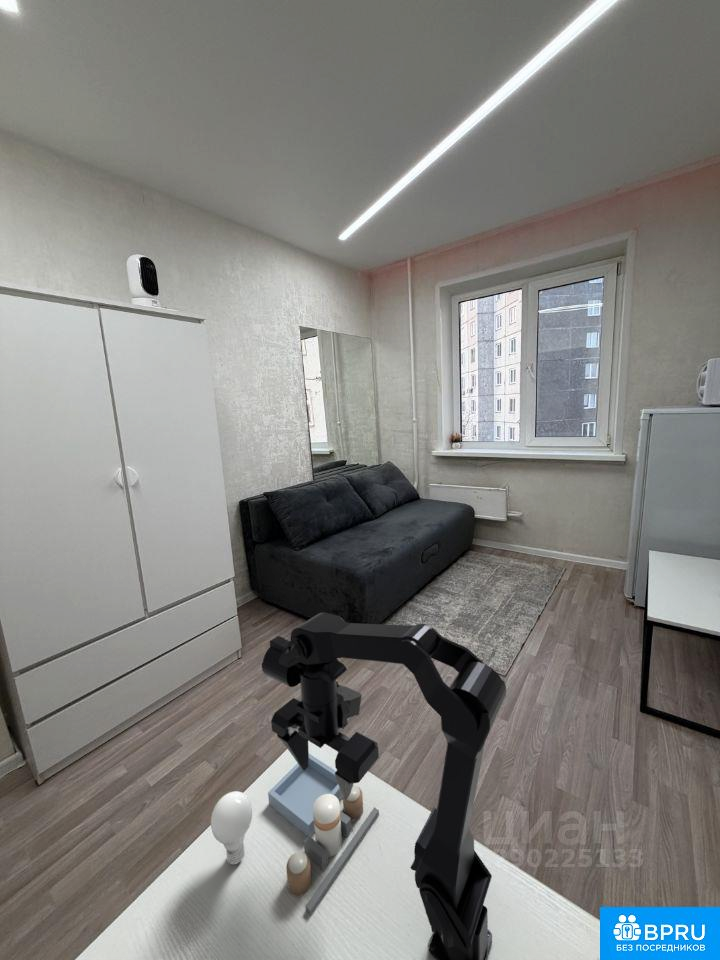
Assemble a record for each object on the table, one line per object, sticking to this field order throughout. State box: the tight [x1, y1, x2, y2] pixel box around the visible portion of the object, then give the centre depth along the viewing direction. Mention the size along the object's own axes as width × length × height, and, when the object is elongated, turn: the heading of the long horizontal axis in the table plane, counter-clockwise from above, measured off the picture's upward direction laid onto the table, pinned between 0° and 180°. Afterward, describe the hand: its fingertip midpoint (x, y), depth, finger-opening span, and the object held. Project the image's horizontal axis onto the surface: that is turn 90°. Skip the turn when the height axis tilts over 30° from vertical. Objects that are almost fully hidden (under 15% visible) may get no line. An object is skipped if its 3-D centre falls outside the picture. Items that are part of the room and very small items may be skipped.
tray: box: [267, 753, 343, 838], centre depth 72 cm, size 11×11×2 cm
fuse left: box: [285, 851, 312, 897], centre depth 58 cm, size 4×4×4 cm
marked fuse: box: [313, 794, 343, 859], centre depth 63 cm, size 4×4×7 cm
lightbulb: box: [210, 790, 253, 865], centre depth 61 cm, size 6×6×11 cm
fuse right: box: [342, 784, 364, 821], centre depth 69 cm, size 4×4×4 cm
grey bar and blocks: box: [303, 806, 380, 916], centre depth 63 cm, size 6×18×2 cm, turn 143°
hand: (325, 781), depth 62 cm, fingers open, 9 cm apart
